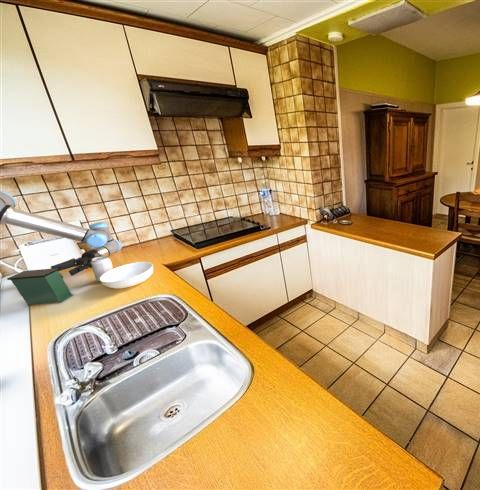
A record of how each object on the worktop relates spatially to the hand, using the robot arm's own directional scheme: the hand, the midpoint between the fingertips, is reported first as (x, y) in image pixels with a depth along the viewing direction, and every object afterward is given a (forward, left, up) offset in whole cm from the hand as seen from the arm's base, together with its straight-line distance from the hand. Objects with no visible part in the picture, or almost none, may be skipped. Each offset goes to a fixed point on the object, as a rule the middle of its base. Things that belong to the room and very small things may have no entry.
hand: (56, 274), depth 129 cm
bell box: (0, -8, -9) cm, 12 cm away
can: (+12, +9, -9) cm, 18 cm away
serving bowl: (+30, +2, -10) cm, 31 cm away
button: (0, -2, -3) cm, 4 cm away
